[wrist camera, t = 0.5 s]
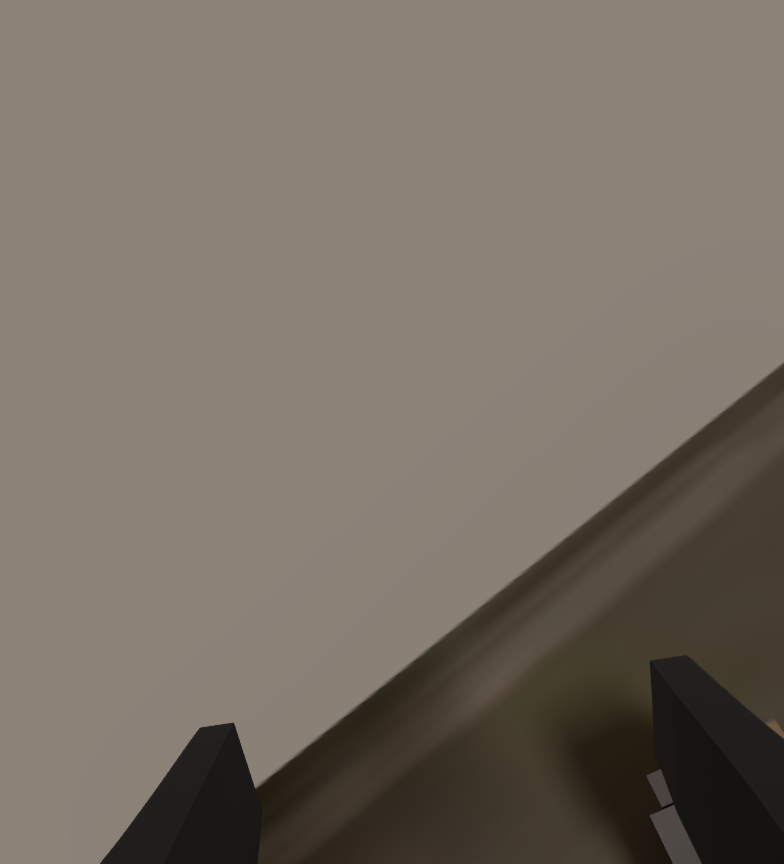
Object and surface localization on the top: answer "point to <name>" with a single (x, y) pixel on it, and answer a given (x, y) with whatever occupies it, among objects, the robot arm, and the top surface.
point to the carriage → (682, 829)
